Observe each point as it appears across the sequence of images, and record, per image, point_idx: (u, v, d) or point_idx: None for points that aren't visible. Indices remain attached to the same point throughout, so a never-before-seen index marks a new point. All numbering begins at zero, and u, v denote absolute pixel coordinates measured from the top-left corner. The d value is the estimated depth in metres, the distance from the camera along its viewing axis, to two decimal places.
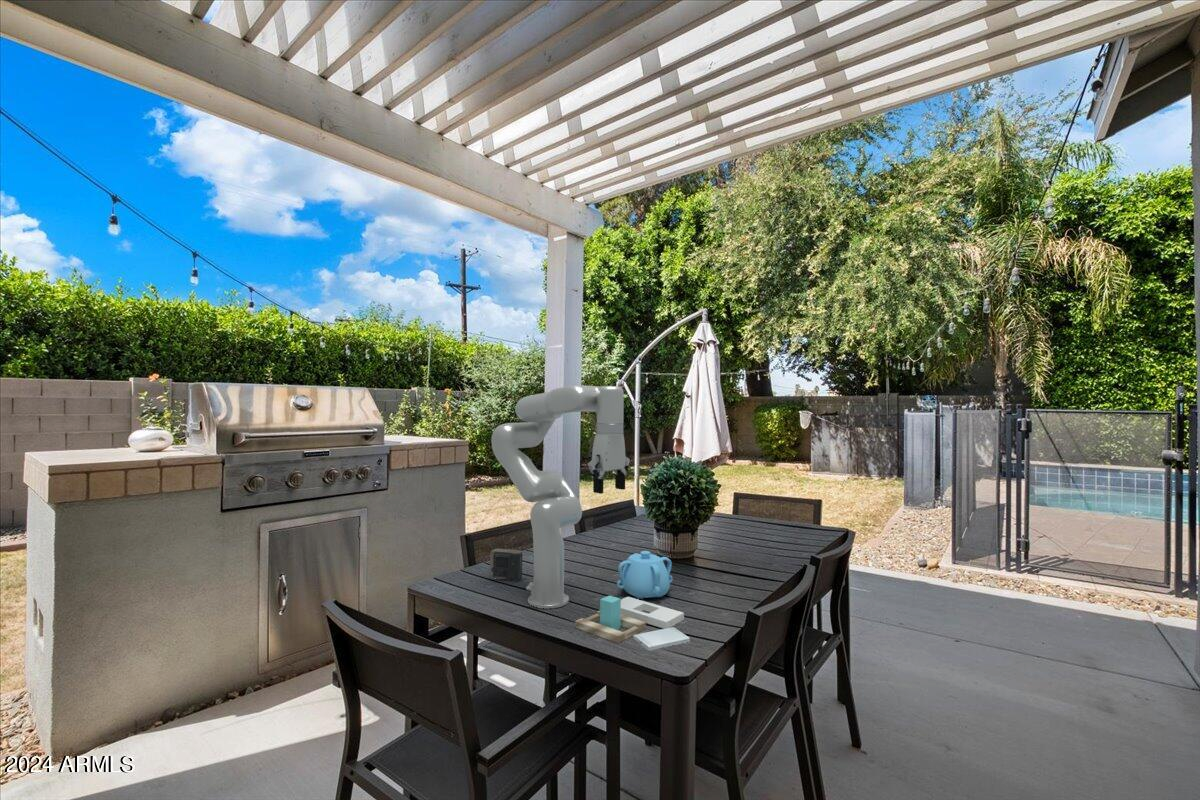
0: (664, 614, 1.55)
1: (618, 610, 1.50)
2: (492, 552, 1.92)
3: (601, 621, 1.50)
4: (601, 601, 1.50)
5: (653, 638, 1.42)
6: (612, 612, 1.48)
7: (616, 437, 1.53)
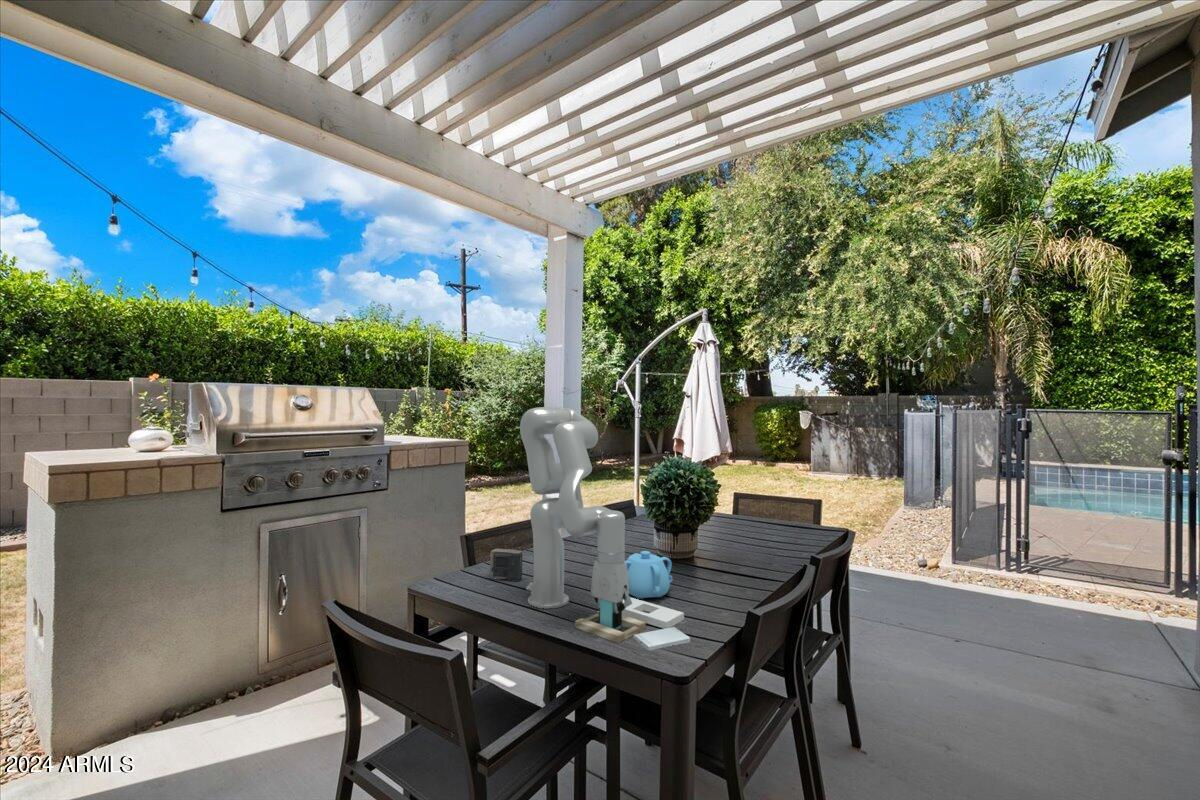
0: (664, 614, 1.55)
1: None
2: (492, 552, 1.92)
3: (601, 621, 1.50)
4: (601, 601, 1.50)
5: (653, 638, 1.42)
6: (612, 612, 1.48)
7: None
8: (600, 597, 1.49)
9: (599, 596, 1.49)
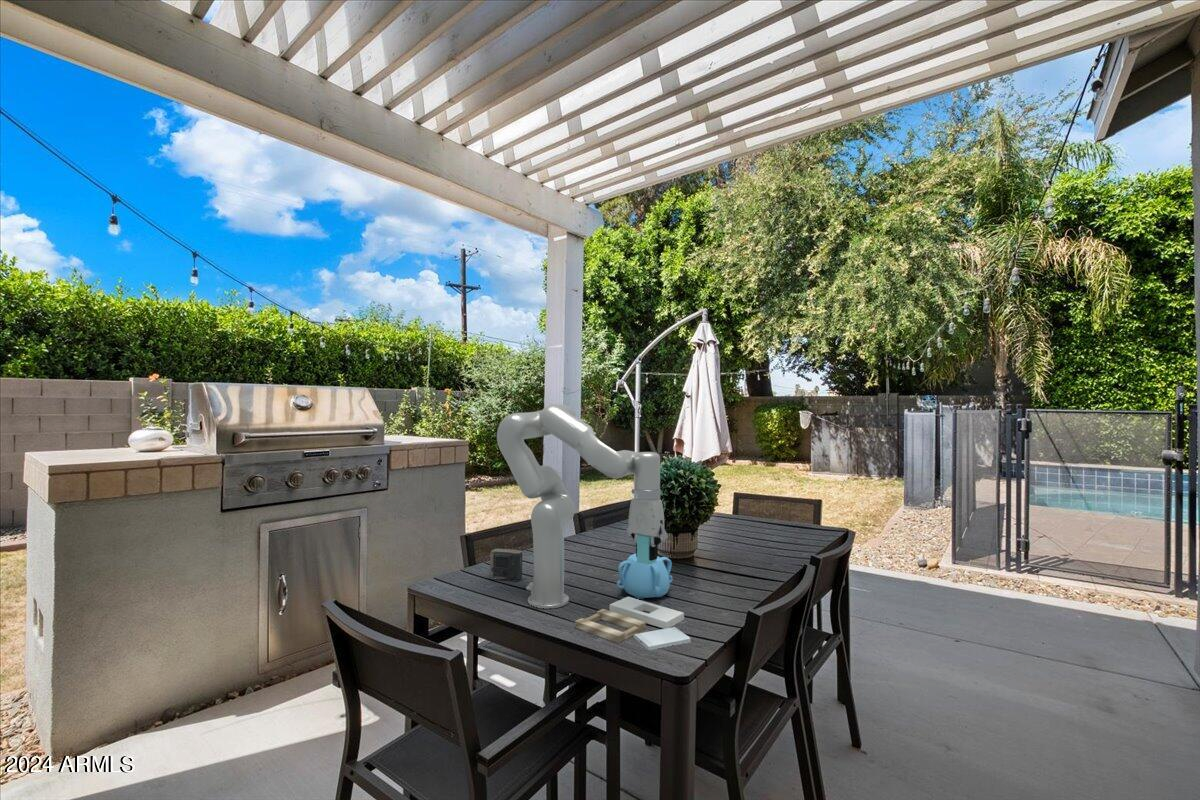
0: (664, 614, 1.55)
1: None
2: (492, 552, 1.92)
3: (638, 555, 1.59)
4: (638, 536, 1.60)
5: (653, 637, 1.42)
6: (649, 545, 1.58)
7: None
8: (637, 532, 1.59)
9: (636, 531, 1.59)
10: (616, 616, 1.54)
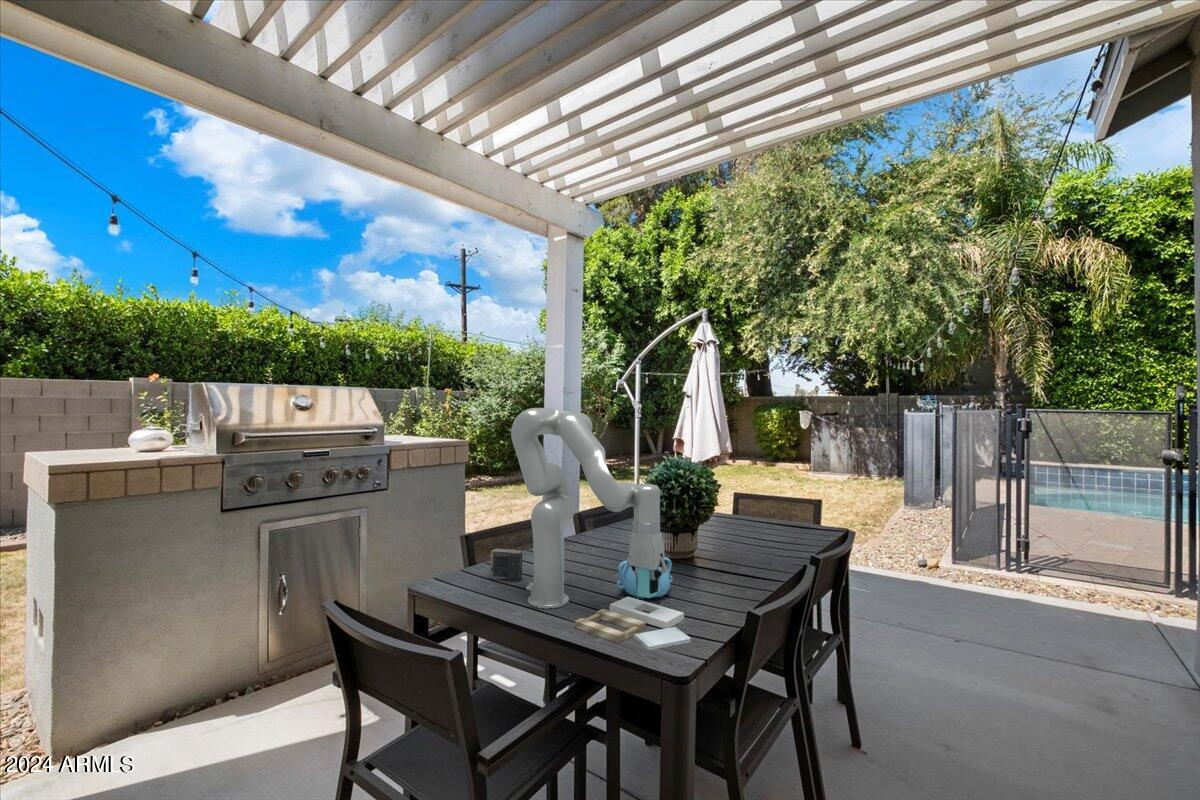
0: (664, 614, 1.55)
1: None
2: (492, 552, 1.92)
3: (639, 588, 1.59)
4: (638, 569, 1.59)
5: (653, 637, 1.42)
6: (649, 578, 1.57)
7: None
8: (637, 565, 1.59)
9: (636, 564, 1.59)
10: (616, 616, 1.54)
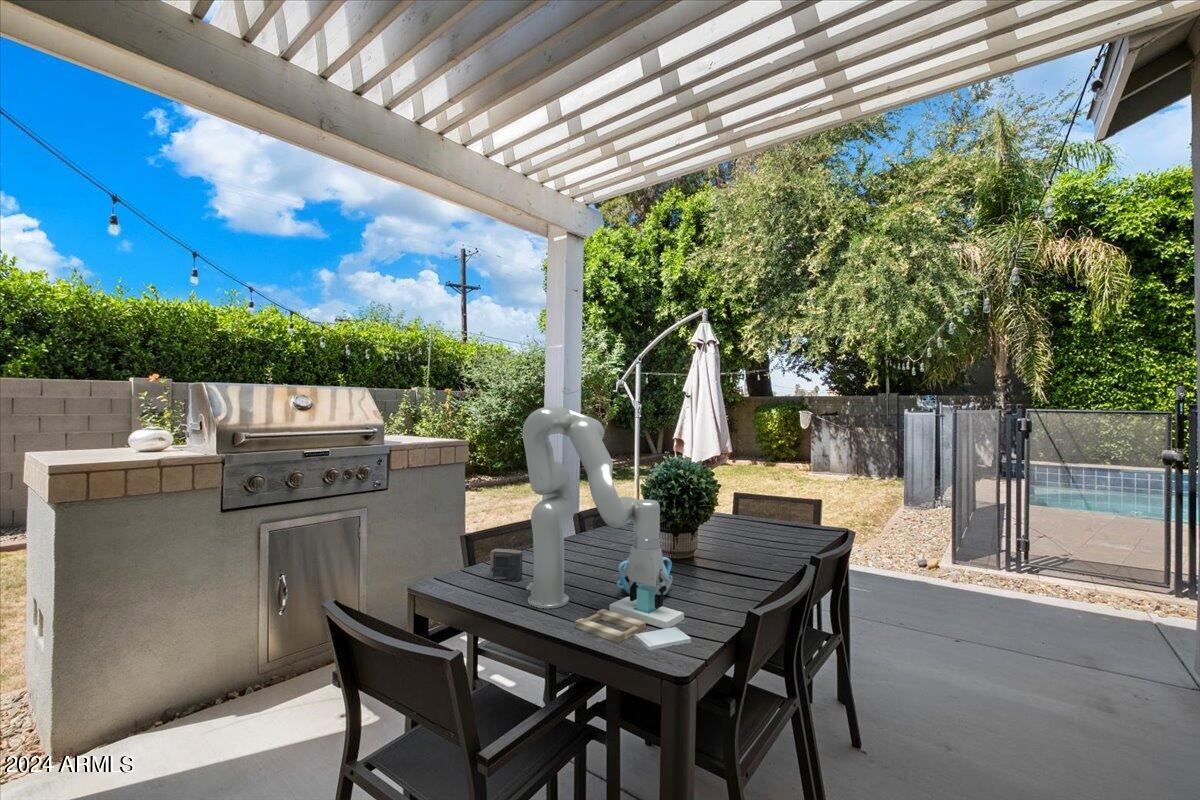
0: (664, 614, 1.55)
1: (654, 598, 1.59)
2: (492, 552, 1.92)
3: (638, 609, 1.59)
4: (638, 590, 1.59)
5: (654, 637, 1.42)
6: (649, 600, 1.57)
7: None
8: (637, 581, 1.59)
9: (636, 580, 1.59)
10: (616, 616, 1.54)
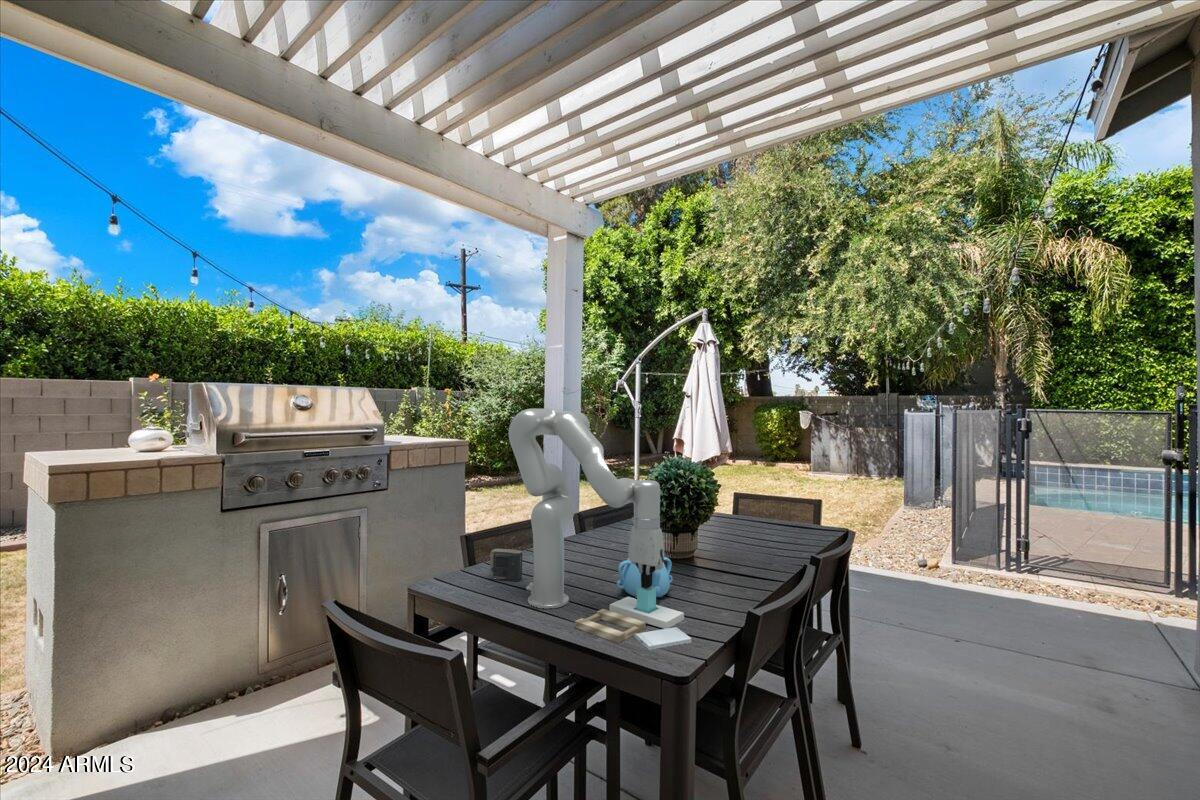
0: (664, 614, 1.55)
1: (654, 598, 1.59)
2: (492, 552, 1.92)
3: (638, 609, 1.59)
4: (638, 590, 1.59)
5: (654, 637, 1.42)
6: (649, 600, 1.57)
7: None
8: (637, 561, 1.59)
9: (636, 560, 1.59)
10: (616, 616, 1.54)
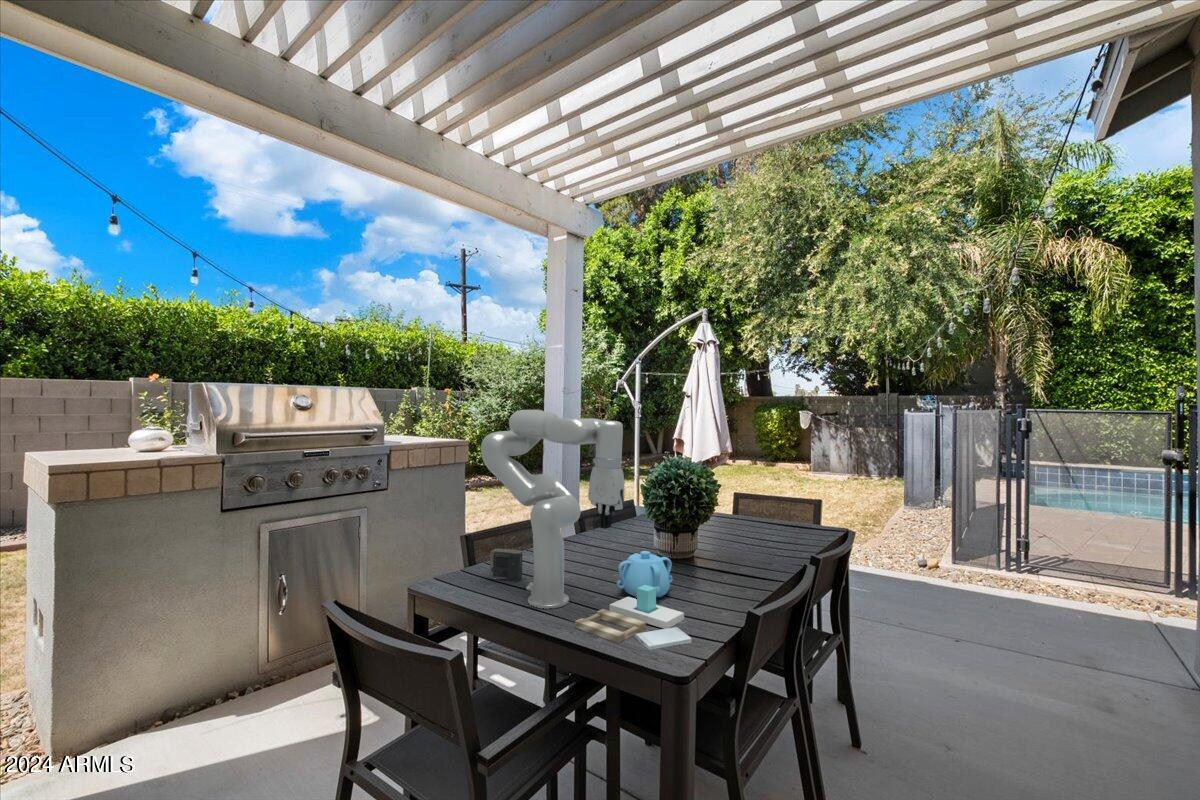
0: (664, 614, 1.55)
1: (654, 598, 1.59)
2: (492, 552, 1.92)
3: (638, 609, 1.59)
4: (638, 590, 1.59)
5: (654, 637, 1.42)
6: (648, 600, 1.57)
7: None
8: (597, 501, 1.57)
9: (596, 500, 1.57)
10: (616, 616, 1.54)
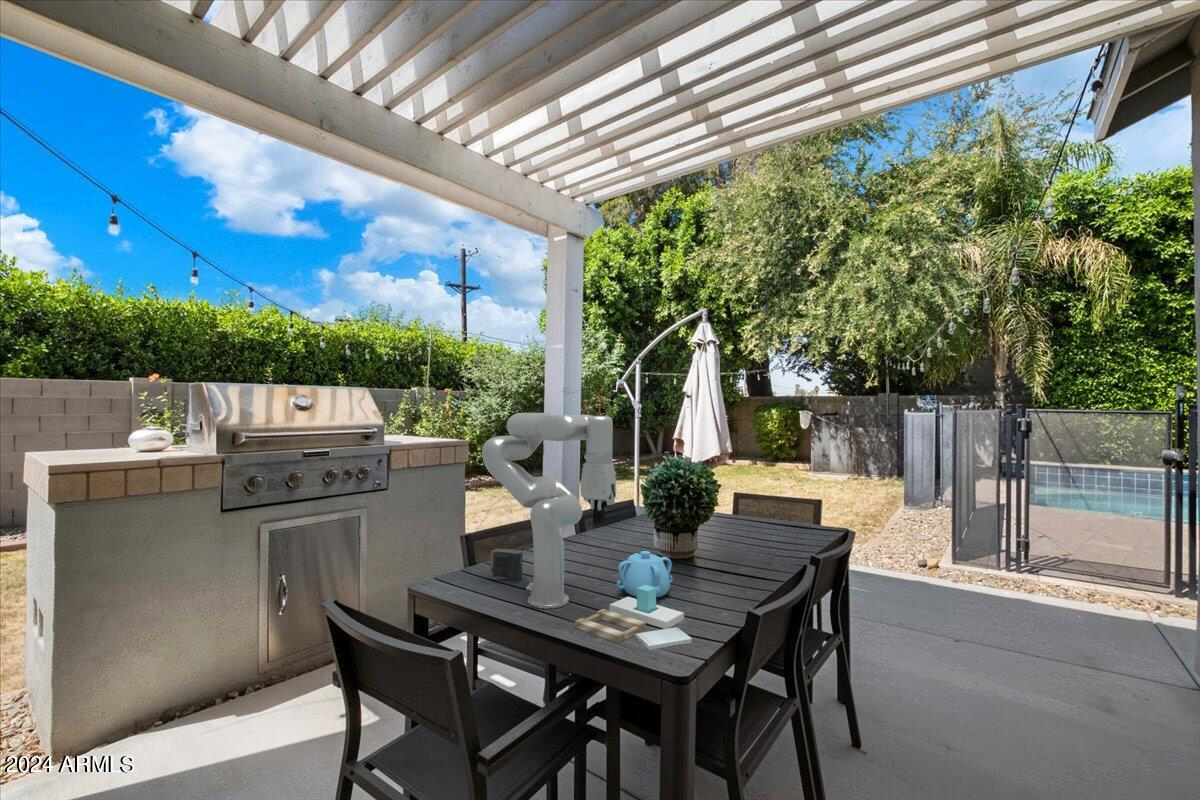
0: (664, 614, 1.55)
1: (654, 598, 1.59)
2: (492, 552, 1.92)
3: (638, 609, 1.59)
4: (638, 590, 1.59)
5: (654, 637, 1.42)
6: (649, 600, 1.57)
7: None
8: (589, 496, 1.56)
9: (588, 496, 1.56)
10: (616, 616, 1.54)
